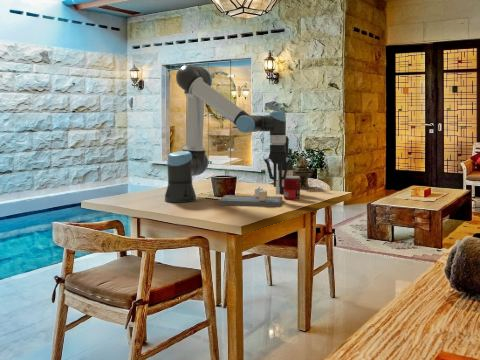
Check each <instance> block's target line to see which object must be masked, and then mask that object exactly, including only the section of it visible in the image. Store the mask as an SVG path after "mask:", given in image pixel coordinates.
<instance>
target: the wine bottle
mask: <svg viewBox="0 0 480 360" xmlns="http://www.w3.org/2000/svg"><path fill="white" fill-rule="evenodd" d="M285 145H286V155H287V157H288V158H289V159H291V162H290V163H289V167H288V171H287V175H286V176H293V166H294V162H293V160H292V158H291V156H290V154H289V137H288V135H286V143H285ZM286 163H287V162H286V159H285V161H284V162H283V163H282V177H283V175H284V171H285V167H286ZM277 180H279V164H277ZM279 195H284V179H283V180H282V187H280V194H279Z"/></svg>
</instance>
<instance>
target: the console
mask: <svg viewBox="0 0 480 360" xmlns="http://www.w3.org/2000/svg"><path fill="white" fill-rule="evenodd" d="M282 203H283V196H280V195H279V196H277V195H276V196H274V195H267V199H266V201H259V197H255V195H238V194H237V195H234V194H233V195H232V194H228V195H227V194H225V195H224V196H222V197H221V198H220V199H219V200H218V206H219V205H220V206H243V207H244V206H248V207H249V206H251V207H253V206H254V207H280V206H281V204H282Z"/></svg>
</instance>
